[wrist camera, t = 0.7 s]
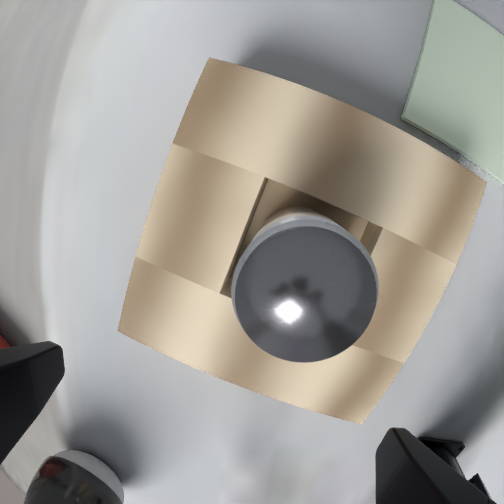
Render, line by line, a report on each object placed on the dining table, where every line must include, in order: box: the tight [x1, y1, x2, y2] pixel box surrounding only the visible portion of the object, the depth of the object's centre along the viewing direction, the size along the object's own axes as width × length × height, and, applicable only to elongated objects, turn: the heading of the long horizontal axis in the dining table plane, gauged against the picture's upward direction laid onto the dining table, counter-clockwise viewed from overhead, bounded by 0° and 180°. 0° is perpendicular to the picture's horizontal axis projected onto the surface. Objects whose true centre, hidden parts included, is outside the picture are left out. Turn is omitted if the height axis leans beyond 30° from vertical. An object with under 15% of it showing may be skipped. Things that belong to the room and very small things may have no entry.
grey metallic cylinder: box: [231, 206, 379, 363], centre depth 14 cm, size 5×5×8 cm
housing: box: [118, 58, 487, 424], centre depth 17 cm, size 16×16×4 cm
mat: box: [401, 0, 504, 184], centre depth 15 cm, size 12×12×1 cm
